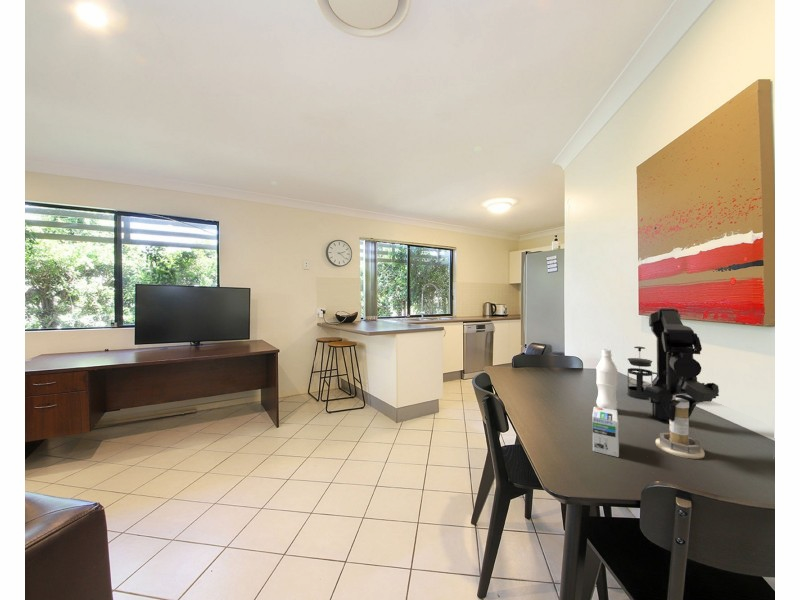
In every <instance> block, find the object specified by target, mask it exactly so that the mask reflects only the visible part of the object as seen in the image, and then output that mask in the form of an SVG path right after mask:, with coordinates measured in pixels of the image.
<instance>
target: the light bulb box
mask: <svg viewBox="0 0 800 600" xmlns="http://www.w3.org/2000/svg"><path fill="white" fill-rule="evenodd" d="M592 408H593V409H592V415H591V416H592V417H591V418H592V452H596V453H600V454H603V455H608V456H612V457H616V458H619V456H620V435H619V434H620V431H619V427H620V426H619V411H618V410H611V409H605V408H600V407H598V406H594V407H592Z"/></svg>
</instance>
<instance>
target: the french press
mask: <svg viewBox="0 0 800 600" xmlns="http://www.w3.org/2000/svg"><path fill="white" fill-rule="evenodd" d="M633 347H634V349H638V350H637V351H638V355H639V356H638V358H637V357H633V358H632V357H631V358H627V361H628V362H629V364H630V365H632V366H635V367H638V368H635V367H630V368H627V396H629V397H630V398H633V399H637V400H646V401H647V400H648V401H649V397H647V396H644V388H645V387H652V381H653V375H657V372H655V371H652V370H649V369H646V368H647V367H648V368H650V367H652V363H653V360H651V359H648V358H642V357H641V351H642V349H644V350H645V349H646V347H644V346H633ZM642 367H643V368H642ZM644 367H645V368H644ZM629 374H630V375H634V376H636V379H631V380H630V378H629V376H630V375H629ZM650 376H651V382H649V381H645V380H644V378H643V377H650ZM630 384H631V385H632V386H631V385H630Z"/></svg>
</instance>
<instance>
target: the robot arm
mask: <svg viewBox="0 0 800 600" xmlns="http://www.w3.org/2000/svg"><path fill="white" fill-rule="evenodd" d="M648 327H650V330H651V333H652V334H653V335H654V336H655V338H656V373H657V374H656V377H655V378H654V379H652V383H651V386H644V396H647V397H649V400H648V401H649V402H650V404H652V412H651V413H652V414H648V417H650V418H652V419H655V420H656V421H659V422H661V423H664V424H669V419H670V420H671V421H674V420H675V410H676V405H677V404H678V403H680V401H677V400H676V398H681V399H685V400H687V401H689V409H688V417H689V419H690V417H691V416H692V413H693V412H694V409H695V407H696V406H697V405H698V404H700V403H704V402H709V403H710V402H712V401H713V399H717V397H719V396H720V395H719V394H720V393H719V392H720V389H719V385H718V384H716V383H715V382H708V383H706V384H705V382H700V381H698V377H697V376H699V375H700V374H701V371H702V366H701V364H700V362H699V361H697V360H696V359H695V358H694V354H695V355H701V352H702V349H703V348H702V347H703V346H702V344H701V340H700V337H699V336H698V334H697V332H696V333H695V332H694V329H692V328H691V327H690V326H688V325H684V324H683V322H682V320H681V314H680V313H679V310H678V309H677V308H659V309H657V311H655V312H653V313H650V314H649V318H648Z"/></svg>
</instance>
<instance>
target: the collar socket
mask: <svg viewBox="0 0 800 600" xmlns="http://www.w3.org/2000/svg"><path fill="white" fill-rule="evenodd" d="M669 438H670V431H669V432H659V437H657V438H656V439H655V445H656V447H657V448H658V449H660V450H662V451H663V452H666V453H667V454H670V455H674V456H676V457H681V458H686V459H694V460H698V459H699V460H701V459H703V458H705V455H706V454H705V450H704V449H703V448H702V447H701V443H700V441H698V440H696V439H694V438H692V437H690V436H688V442H689V445H683V444H678V443H674V442H671V441H670V440H669Z"/></svg>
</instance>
